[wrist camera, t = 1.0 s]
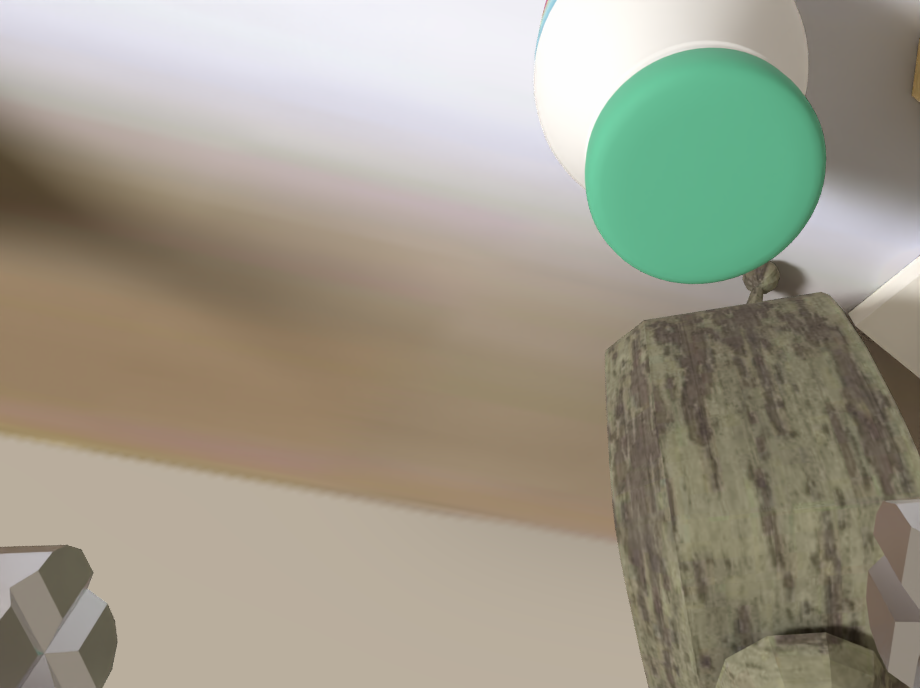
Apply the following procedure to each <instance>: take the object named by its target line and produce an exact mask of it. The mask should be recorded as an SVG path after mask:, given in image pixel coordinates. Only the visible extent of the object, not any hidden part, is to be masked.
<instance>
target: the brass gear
mask: <svg viewBox="0 0 920 688" xmlns="http://www.w3.org/2000/svg"><path fill="white" fill-rule="evenodd" d="M912 96H913V97H914V98H915V99H916V100H917V101H918V102H919V103H920V38H919V44H918V52H917V59H916V67H915V74H914V82H913V89H912Z"/></svg>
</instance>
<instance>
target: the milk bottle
mask: <svg viewBox="0 0 920 688" xmlns="http://www.w3.org/2000/svg"><path fill="white" fill-rule="evenodd" d="M808 68H809V61H808V45H807V39H806V33H805V29H804V26H803V22H802V19H801V16H800V14H799V11H798V9H797V7H796V4H795V2H794V0H546V3H545V7H544V11H543V15H542V20H541V24H540V29H539V34H538V39H537V45H536V51H535V63H534V96H535V103H536V108H537V113H538V117H539V120H540V124H541V127H542V129H543V132H544V135H545V138H546V140H547V142H548V144H549V146H550V148H551V150H552V152H553V153H554V155H555V157H556V158H557V160H558V161H559V162H560V164H561V165H562V166H563V168H564V169H565V170H566V172H567V173H568V174H569V175H570V176H571V177H572V178H573V179H574V180H575V181H576V182H577V183H578V184H579V185H580V186H581V187H583V188H584V189H585V190H586V194H587V200H588V205H589V209H590V212H591V215H592V218H593V220H594V223H595V225H596V227H597V229H598V230H599V232H600V234H601V235H602V237H603V238H604V240H605V241H606V242H607V244H608V245H609V246H610V247H611V248H612V249H613V250H614V251H615V252H616V253H617V254H618V255H619V256H620V257H621V258H622V259H623V260H624V261H626V262H627V263H628V264H630V265H631V266H633V267H634V268H636V269H638V270H640V271H641V272H643V273H646V274H648V275H650V276H653V277H656V278H658V279H662V280H666V281H670V282H676V283H685V284H704V283H713V282H719V281H724V280H728V279H731V278H735V277H737V276H740V275H743V274H746V273H748V272H750V271H752V270H754V269H756V268H758V267H760V266H762V265H763V264H765V263H767V262H768V261H770V260H771V259H773V258H774V257H775V256H777V255H778V254H779V253H780V252H782V251H783V250H784V249H785V248H786V247H787V246H788V245H789V244H790V243H791V242H792V241H793V240H794V239H795V238H796V237H797V236H798V234H799V233H800V232H801V231H802V229H803V228H804V227H805V225H806V224H807V222H808V220H809V219H810V217H811V215H812V213H813V211H814V209H815V207H816V205H817V203H818V200H819V197H820V195H821V191H822V187H823V184H824V177H825V169H826V147H825V141H824V135H823V131H822V128H821V125H820V122H819V120H818V118H817V115H816V113H815V111H814V110H813V108H812V106H811V105H810V103H809V102H808V100H807V99H806V97H805V95H806V90H807V83H808Z"/></svg>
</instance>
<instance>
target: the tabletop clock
mask: <svg viewBox="0 0 920 688" xmlns="http://www.w3.org/2000/svg"><path fill="white" fill-rule="evenodd" d="M779 278H780V274H779V271H778V269H777V267H776V265H775V264H773V263H771V262H770V261H768V262H767V263H765V264H763V265H762V266H760V267H758V268H756V269H754V270H752V271H750V272H748V273H746V274H743V281H744V284H745V286H746V288H747V289H748V290H750V291H751V293H750V296H749V299H748V301H747V304H743V305H737V306H731V307H724V308H718V309H712V310H706V311H699V312H693V313H687V314H681V315H674V316H668V317H662V318H656V319H649V320H644V321H643V322H641V323H640V324H639V325H638V326H636V327H635V328H634V329H633V330H631V331H630V332H629V333H627V334H626V335H625V336H624V337H622V338H621V339H620V340H618V341H617V342H616V343H615V344H613V345H612V346H611V347H609V348H608V349H607V350H606V353H605V382H606V411H607V429H608V446H609V464H610V478H611V491H612V502H613V512H614V522H615V530H616V536H617V542H618V547H619V553H620V559H621V564H622V569H623V575H624V579H625V584H626V589H627V594H628V598H629V603H630V607H631V612H632V616H633V621H634V626H635V630H636V635H637V639H638V644H639V649H640V653H641V658H642V662H643V666H644V670H645V674H646V678H647V683H648V687H649V688H910V687H909V686H907V685H906V684H904V683H903V682H902V681H900V680H899V679H897V678H896V677H895V676H893V675H892V674H890V673H889V672H888V671H887V669H886V667H885V665H884V662H883V660H882V658H881V656H880V654H879V652H878V650H877V647H876V644H875V641H874V638H873V635H872V632H871V629H870V625H869V617H868V610H867V602H866V590H867V579H868V570H869V569H870V568H871V567H872V566H873V565H875V564H876V563H877V562H878V561H879V560H880V559H881V558H882V557H883V556H884V553H883V551H882V549H881V548H880V546H879V544H878V542H877V540H876V539H875V537H874V535H873V532H874V526H875V519H876V513H877V511H878V509H879V508H880V506H881V504H882V502H883V501H891V500H908V499H920V457H919V454H918V451H917V449H916V446H915V444H914V442H913V440H912V437H911V435H910V433H909V430H908V428H907V426H906V424H905V422H904V419H903V417H902V415H901V413H900V411H899V409H898V406H897V404H896V403H895V401H894V399H893V397H892V395H891V393H890V391H889V389H888V387H887V385H886V383H885V381H884V379H883V378H882V376H881V374H880V372H879V370H878V368H877V366H876V364H875V362H874V360H873V358H872V356H871V354H870V353H869V351H868V349H867V347H866V345H865V344H864V342H863V341H862V339H861V338H860V336H859V335H858V333H857V332H856V330H855V329H854V327H853V326H852V324H851V323H850V321H849V320H848V318H847V317H846V315H845V313H844V312H843V310H842V309H841V308H840V306H839V305H838V304H837V303H836V302H835V301H834V299H833V298H832V297H831V296H830V295H828V294H825V293H823V292H818V293H812V294H806V295H799V296H793V297H787V298H781V299H774V300H768V301H762V300H763V294H766V293H768V292H770V291H771V290H773V289H775V288H776V287H777V284H778V281H779Z"/></svg>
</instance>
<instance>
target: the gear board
mask: <svg viewBox="0 0 920 688" xmlns="http://www.w3.org/2000/svg"><path fill="white" fill-rule="evenodd" d="M848 314H849V316H850V318H851V320H852V321H853V323H854V325H855V326H856V327H857V328H858V329H860V330H861V331H862V332H863V333H864V334H866V335H867V336H868V337H869V338H871V339H872V340H873V341H874V342H876V343H877V344H878V345H879V346H880V347H882V348H883V349H884V350H885V351H887V352H888V353H889V354H890V355H892V356H893V357H894V358H895V359H896V360H898V361H899V362H900V363H901V364H903V365H904V366H905V367H906V368H908V369H909V370H910V371H911V372H913V373H914V374H915V375H916V376H917V377H919V378H920V256H919V257H918V258H916V259H915V260H914V261H913V262H911V263H910V264H909V265H908V266H906V267H905V268H904V269H903V270H901V271H900V272H899V273H898V274H896V275H895V276H894V277H893V278H891V279H890V280H889V281H888V282H887V283H885V284H884V285H883V286H882V287H880V288H879V289H878V290H877V291H875V292H874V293H873V294H872V295H870V296H869V297H868V298H867V299H865V300H864V301H863V302H862V303H860V304H859V305H858V306H857V307H855V308H854V309H853V310H852V311H851V312H849V313H848Z"/></svg>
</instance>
